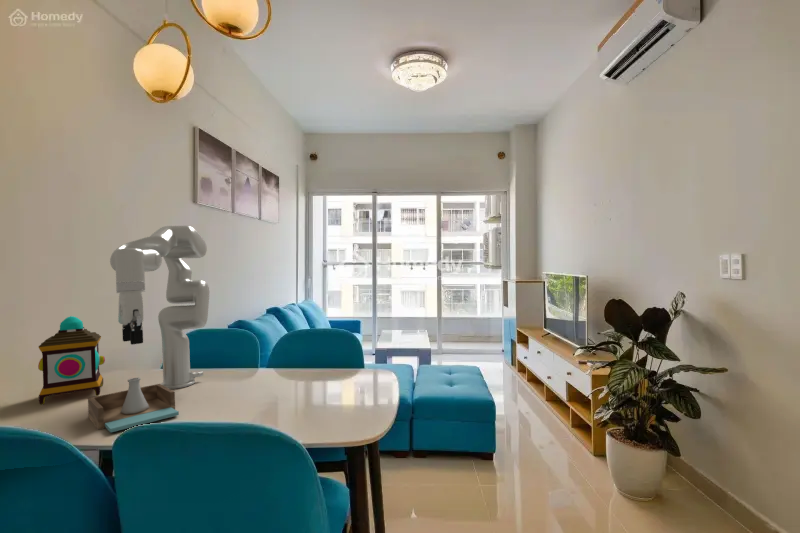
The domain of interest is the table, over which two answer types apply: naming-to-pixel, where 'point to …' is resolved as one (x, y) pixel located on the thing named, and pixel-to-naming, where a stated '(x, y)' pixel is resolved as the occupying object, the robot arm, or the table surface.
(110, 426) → the teal panel
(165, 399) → the crate
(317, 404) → the table surface
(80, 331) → the decorative lantern
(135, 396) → the flask
